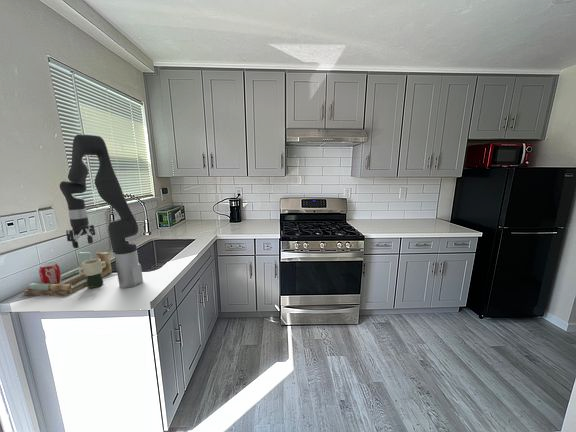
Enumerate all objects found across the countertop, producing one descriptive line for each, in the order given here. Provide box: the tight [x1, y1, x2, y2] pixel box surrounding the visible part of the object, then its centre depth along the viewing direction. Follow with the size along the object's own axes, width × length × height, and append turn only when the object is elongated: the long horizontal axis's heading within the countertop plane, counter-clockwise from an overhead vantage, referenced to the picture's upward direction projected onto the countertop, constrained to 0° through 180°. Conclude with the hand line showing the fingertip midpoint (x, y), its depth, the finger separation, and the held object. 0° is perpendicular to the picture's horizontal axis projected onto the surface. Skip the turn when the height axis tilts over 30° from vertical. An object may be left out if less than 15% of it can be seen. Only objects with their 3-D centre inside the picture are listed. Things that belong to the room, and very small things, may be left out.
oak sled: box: [49, 251, 113, 295], centre depth 121 cm, size 10×25×11 cm, turn 176°
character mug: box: [78, 258, 106, 288], centre depth 116 cm, size 11×7×13 cm, turn 152°
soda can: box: [38, 262, 63, 284], centre depth 115 cm, size 7×7×12 cm
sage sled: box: [28, 251, 94, 291], centre depth 122 cm, size 10×25×11 cm, turn 176°
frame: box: [23, 270, 71, 297], centre depth 119 cm, size 22×23×2 cm
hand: (83, 245), depth 132 cm, fingers open, 8 cm apart
